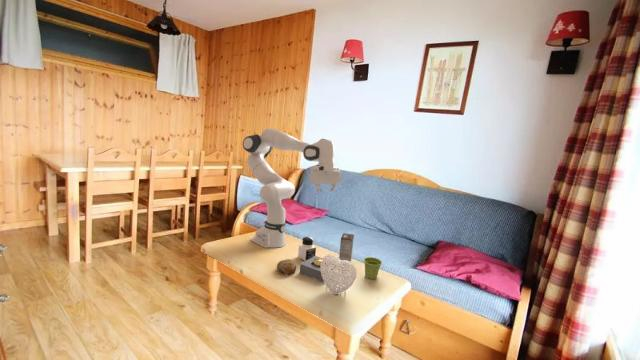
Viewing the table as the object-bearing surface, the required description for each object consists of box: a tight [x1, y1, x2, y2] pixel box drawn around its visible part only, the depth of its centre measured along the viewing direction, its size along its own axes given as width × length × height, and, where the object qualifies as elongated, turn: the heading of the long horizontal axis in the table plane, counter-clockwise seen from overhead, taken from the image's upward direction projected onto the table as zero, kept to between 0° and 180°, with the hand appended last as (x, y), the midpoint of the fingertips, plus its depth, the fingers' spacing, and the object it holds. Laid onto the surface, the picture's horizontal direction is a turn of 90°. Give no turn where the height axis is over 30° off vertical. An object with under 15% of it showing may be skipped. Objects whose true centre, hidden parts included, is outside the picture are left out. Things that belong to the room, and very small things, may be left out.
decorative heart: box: [320, 254, 357, 298], centre depth 142 cm, size 18×11×17 cm, turn 53°
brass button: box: [313, 257, 324, 267], centre depth 161 cm, size 6×6×4 cm
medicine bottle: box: [297, 236, 317, 262], centre depth 178 cm, size 7×7×12 cm
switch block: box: [299, 255, 336, 283], centre depth 162 cm, size 14×14×5 cm
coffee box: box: [338, 232, 355, 266], centre depth 175 cm, size 9×6×16 cm
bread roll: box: [276, 258, 297, 276], centre depth 161 cm, size 10×10×8 cm
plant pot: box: [363, 256, 383, 280], centre depth 163 cm, size 9×9×9 cm
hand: (325, 191), depth 180 cm, fingers open, 8 cm apart
